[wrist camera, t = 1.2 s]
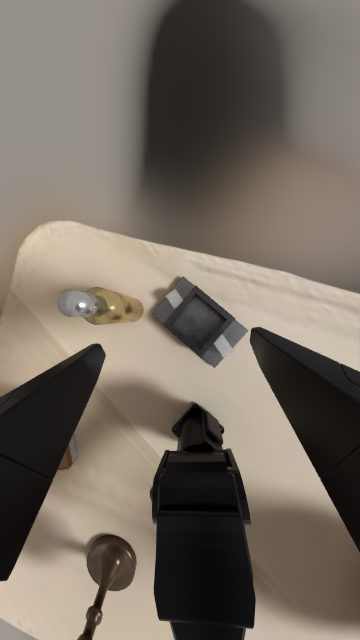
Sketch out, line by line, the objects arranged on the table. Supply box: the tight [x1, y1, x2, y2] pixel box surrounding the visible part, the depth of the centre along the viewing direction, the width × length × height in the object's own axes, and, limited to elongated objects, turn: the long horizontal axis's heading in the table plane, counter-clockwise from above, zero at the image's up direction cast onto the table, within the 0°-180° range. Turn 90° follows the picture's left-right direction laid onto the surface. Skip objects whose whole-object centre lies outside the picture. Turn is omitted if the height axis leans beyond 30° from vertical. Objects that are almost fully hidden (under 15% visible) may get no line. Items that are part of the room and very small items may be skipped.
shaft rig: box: [152, 277, 248, 368], centre depth 22 cm, size 8×14×4 cm, turn 49°
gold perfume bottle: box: [58, 287, 143, 325], centre depth 18 cm, size 4×4×12 cm
